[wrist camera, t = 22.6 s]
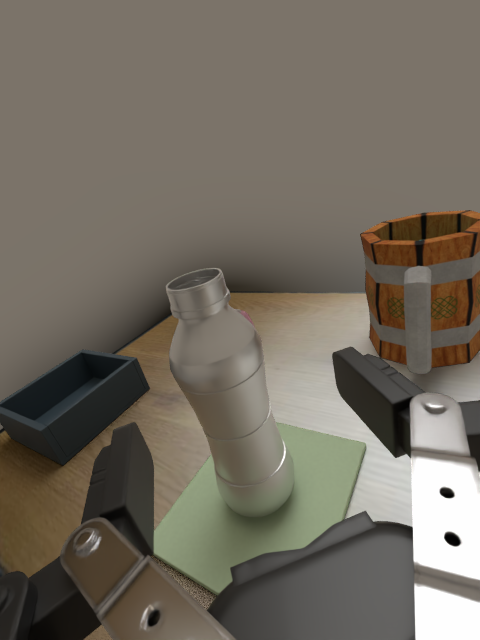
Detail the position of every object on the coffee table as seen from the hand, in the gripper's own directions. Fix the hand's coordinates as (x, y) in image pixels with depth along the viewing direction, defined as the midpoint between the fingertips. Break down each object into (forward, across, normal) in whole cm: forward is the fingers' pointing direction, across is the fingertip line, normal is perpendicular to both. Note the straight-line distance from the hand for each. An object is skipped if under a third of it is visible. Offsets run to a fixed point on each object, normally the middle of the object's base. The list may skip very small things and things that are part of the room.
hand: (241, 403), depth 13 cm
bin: (+33, +20, +18) cm, 43 cm away
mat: (+10, 0, +18) cm, 21 cm away
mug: (+20, -25, +18) cm, 37 cm away
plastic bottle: (+10, 0, +18) cm, 20 cm away
